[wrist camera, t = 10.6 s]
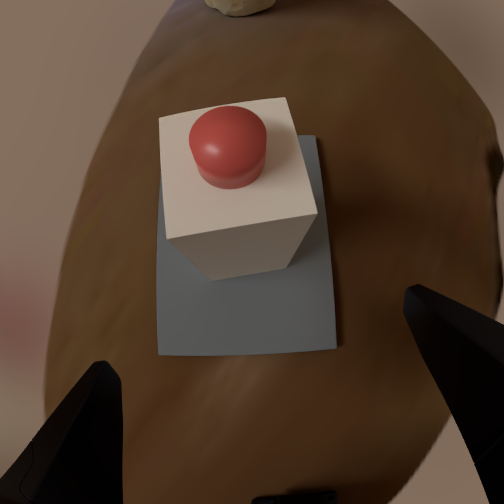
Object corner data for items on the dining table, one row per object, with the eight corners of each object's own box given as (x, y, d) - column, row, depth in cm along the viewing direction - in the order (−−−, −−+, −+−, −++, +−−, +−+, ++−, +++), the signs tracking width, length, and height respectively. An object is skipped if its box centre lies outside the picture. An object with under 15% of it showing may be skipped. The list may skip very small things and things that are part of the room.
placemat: (334, 347, 20) (336, 348, 20) (160, 354, 20) (158, 355, 20) (313, 139, 24) (315, 135, 23) (165, 147, 24) (163, 143, 23)
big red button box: (285, 268, 21) (327, 195, 9) (211, 281, 21) (152, 225, 8) (271, 199, 22) (288, 71, 10) (202, 211, 22) (148, 94, 9)
